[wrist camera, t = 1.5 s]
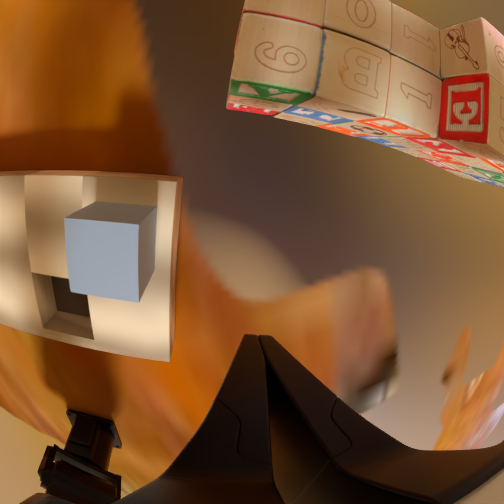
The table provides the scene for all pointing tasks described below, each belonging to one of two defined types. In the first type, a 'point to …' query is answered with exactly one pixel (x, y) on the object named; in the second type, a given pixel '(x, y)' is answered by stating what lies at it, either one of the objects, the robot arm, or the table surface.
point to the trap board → (55, 261)
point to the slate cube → (111, 249)
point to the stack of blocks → (377, 78)
